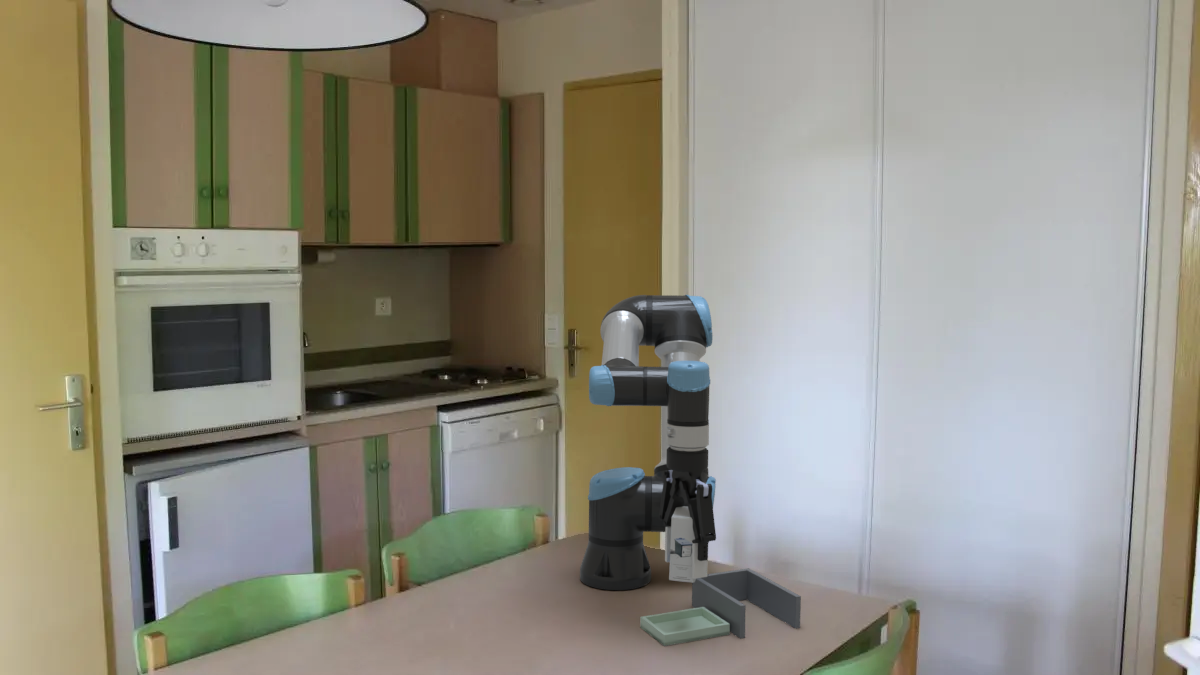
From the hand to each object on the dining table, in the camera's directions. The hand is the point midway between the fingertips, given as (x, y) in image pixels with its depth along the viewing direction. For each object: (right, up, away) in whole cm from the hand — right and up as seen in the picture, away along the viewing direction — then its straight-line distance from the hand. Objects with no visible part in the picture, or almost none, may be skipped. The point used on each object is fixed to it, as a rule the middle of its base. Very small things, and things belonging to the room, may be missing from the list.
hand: (685, 568), depth 173 cm
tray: (0, -12, +1) cm, 12 cm away
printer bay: (+12, -11, +8) cm, 18 cm away
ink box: (0, -1, 0) cm, 1 cm away
